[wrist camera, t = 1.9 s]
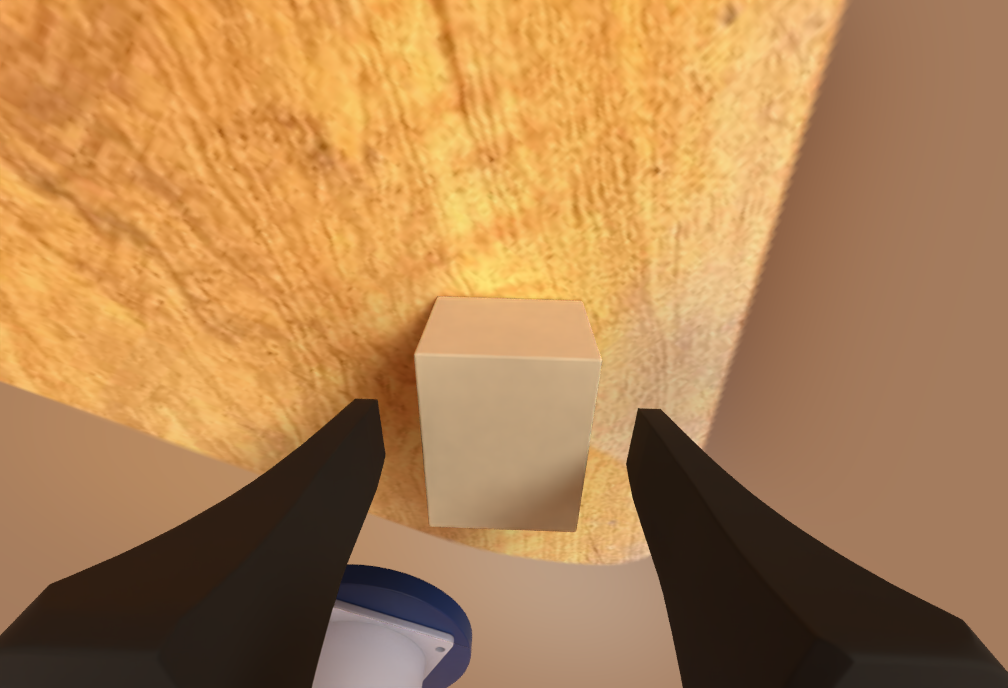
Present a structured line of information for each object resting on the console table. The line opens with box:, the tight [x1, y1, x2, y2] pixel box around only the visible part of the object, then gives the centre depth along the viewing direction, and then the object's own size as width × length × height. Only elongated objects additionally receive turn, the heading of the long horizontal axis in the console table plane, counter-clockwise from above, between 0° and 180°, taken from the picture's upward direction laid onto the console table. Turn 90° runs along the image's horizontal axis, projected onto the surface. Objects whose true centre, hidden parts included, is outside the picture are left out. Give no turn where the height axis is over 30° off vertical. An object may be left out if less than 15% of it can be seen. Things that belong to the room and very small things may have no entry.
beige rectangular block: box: [414, 296, 602, 532], centre depth 13 cm, size 6×4×4 cm
